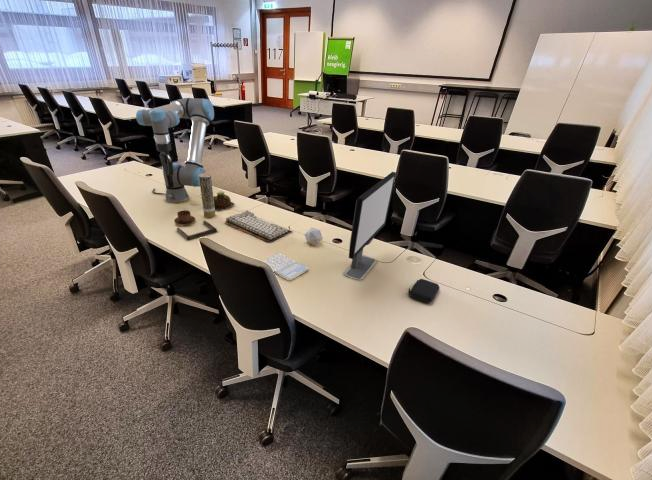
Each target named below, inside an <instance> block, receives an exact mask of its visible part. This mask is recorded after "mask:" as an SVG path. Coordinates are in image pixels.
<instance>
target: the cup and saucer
mask: <svg viewBox="0 0 652 480" xmlns="http://www.w3.org/2000/svg"><path fill="white" fill-rule="evenodd" d="M176 215H177V217H176V218H174V220H173V221H174V223H175V224H176V225H179V226H188V225H192V224H194V223H195V222H196V217H195V216H193V215H192V214H191V211H190V210H188V209H187V210H185V209H183V210H179V211H178V212H177V213H176Z"/></svg>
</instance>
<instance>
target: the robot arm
mask: <svg viewBox="0 0 652 480" xmlns="http://www.w3.org/2000/svg"><path fill="white" fill-rule="evenodd" d="M135 117H136V122H137V123H138V125H140V126H144V127H146V126H148V127H152V130H153V139H154V141H155V147H156V151H157V152H159V153H160V154H158V156H159V160H160V162H161V166H162V167H161V168H162V174H163V175H162V176H163V179H164V184H165V192H155V190H156V188H155V187H154V188H153V190H152V191H151V192H152V194H155V195H164V199H165V202H166V203H169V204H182V203H186V202H188V201H189V200H190V196H189V194H188V191H187V189H186V187H192V188H193V187H194V188H196V187H198V188H200V181H199V174H201V173H207V172H206V169H205V168H204V165H203V164H202V163H203V154H204V148H205V142H206V141H205V139H206V134H207V133H206V132H207V127H208V126H209V125H210V121H213V120H214V119H215V109H214V105H213V103H212V101H211V100H210V99H209V98H194V97H182V98H179V99H176V100H172V101H171V102H170V103H169V104H165V105H161V106H157V107H152V108H150V109H138V110H136V112H135ZM180 119H189V120H190V121H191V123H192V125H191V132H190V133H191V134H190V140H189V147H188V155H187V160H185V161H184V165H182V164H181V162H179V161H178V162H175V161H174V159H173V158H172V157H171V154H170V152H171V151H172V143H171V138H170V133H169V129H171V128H174V127H176V126H178V125H179V124H180ZM185 186H186V187H185Z"/></svg>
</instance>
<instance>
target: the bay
mask: <svg viewBox="0 0 652 480" xmlns="http://www.w3.org/2000/svg"><path fill="white" fill-rule="evenodd" d="M202 223H203V225H204V226H205V227H206V228H207V230H204V231H200V232H196V233H193V234H187V233H186V232H184V231H183V230H182V229H181V228H180V227H176V231H177V233H178V234H180V235H181V236H182V237H183V238H184V239H185V240H187V241H192V240H194V239H198V238H201V237H205V236H207V235H211V234H215V233H217V232H218V230H217V228H216V227H215V226H214V225H212V224H211V223H210V222H208V221H206V220H203V221H202Z"/></svg>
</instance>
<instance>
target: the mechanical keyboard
mask: <svg viewBox="0 0 652 480" xmlns="http://www.w3.org/2000/svg"><path fill="white" fill-rule="evenodd" d="M224 224H225V225H228V226H230V227H232V228H234V229H236V230H239V231H242V232H243V233H245V234H249V235H251V236H252V237H255V238H256V239H259V240H262V241H264V242H267V243H269V242H270V243H272V242H274V241H277V240H278V239H280V238H282V237H284V236H287V235H289V234H292V232H293V231H292V230H290V229H288V228H286V227H282V226H280V225H278V224H276V223H273V222H271V221H269V220H266V219H264V218H262V217H259V216H257V215H255V214H254V212H252V211H248V210H244V211H242V212H239V213H236V214H233V215H230V216H229V217H228V216H227V217H225V222H224Z"/></svg>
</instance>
